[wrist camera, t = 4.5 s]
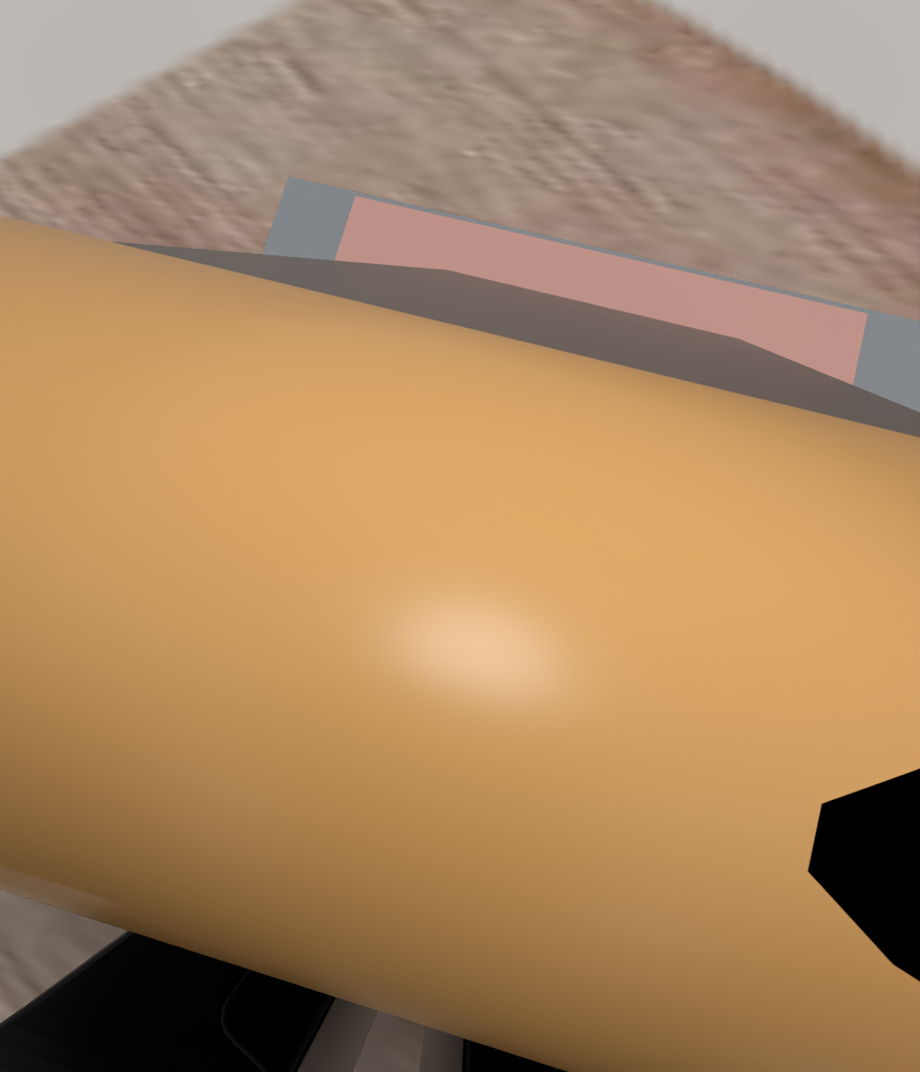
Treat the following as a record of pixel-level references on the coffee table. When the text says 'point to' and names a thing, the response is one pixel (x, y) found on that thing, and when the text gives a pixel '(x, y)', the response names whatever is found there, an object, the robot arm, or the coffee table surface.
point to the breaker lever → (462, 654)
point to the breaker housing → (604, 282)
